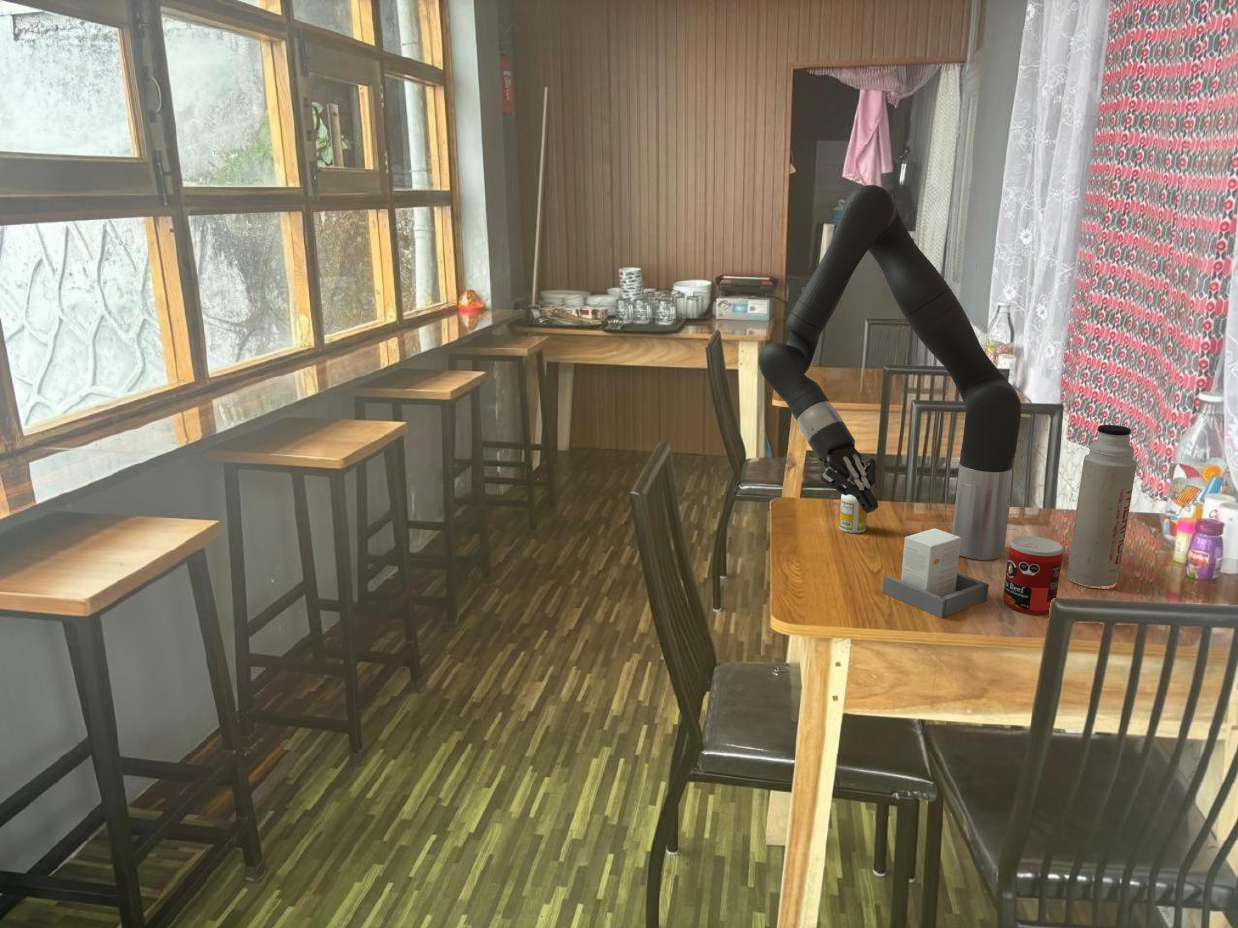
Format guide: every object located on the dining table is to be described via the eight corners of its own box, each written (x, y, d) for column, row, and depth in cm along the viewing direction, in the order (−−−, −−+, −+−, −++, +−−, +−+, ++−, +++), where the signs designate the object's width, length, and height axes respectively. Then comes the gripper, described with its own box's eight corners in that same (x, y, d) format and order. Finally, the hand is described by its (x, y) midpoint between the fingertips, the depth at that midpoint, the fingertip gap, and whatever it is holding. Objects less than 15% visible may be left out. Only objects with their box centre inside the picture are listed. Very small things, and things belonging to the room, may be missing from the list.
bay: (927, 577, 161) (929, 561, 160) (986, 600, 151) (988, 584, 151) (882, 592, 155) (883, 576, 154) (941, 617, 145) (942, 600, 144)
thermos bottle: (1126, 584, 158) (1152, 429, 150) (1097, 593, 154) (1122, 434, 147) (1085, 568, 165) (1108, 419, 157) (1056, 576, 161) (1078, 424, 154)
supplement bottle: (863, 525, 188) (867, 480, 185) (867, 534, 182) (871, 488, 180) (837, 524, 188) (840, 479, 185) (840, 533, 183) (844, 487, 180)
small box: (929, 583, 158) (934, 527, 155) (956, 594, 154) (962, 536, 151) (898, 593, 154) (903, 536, 151) (925, 605, 150) (931, 546, 147)
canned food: (993, 597, 153) (1001, 536, 150) (1039, 595, 153) (1047, 534, 150) (1016, 616, 146) (1025, 553, 142) (1064, 614, 146) (1073, 551, 143)
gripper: (810, 425, 162) (859, 507, 155) (861, 415, 169) (910, 493, 162) (789, 448, 168) (835, 527, 161) (838, 437, 175) (885, 513, 168)
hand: (873, 510), depth 162 cm, fingers closed
